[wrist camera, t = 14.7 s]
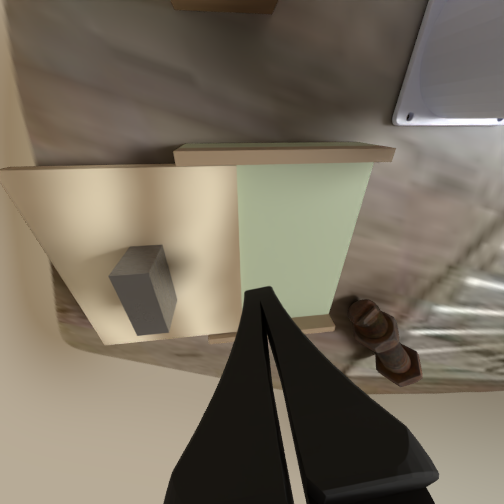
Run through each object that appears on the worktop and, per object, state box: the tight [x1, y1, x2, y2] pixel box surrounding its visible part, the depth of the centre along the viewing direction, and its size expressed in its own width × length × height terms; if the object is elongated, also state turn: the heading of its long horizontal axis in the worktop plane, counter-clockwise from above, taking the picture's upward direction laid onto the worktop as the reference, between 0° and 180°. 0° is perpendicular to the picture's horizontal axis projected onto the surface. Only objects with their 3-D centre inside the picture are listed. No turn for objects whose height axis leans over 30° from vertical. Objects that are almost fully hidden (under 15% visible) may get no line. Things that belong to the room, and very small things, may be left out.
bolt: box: [348, 299, 423, 387], centre depth 26 cm, size 6×5×15 cm
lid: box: [0, 164, 242, 345], centre depth 14 cm, size 12×14×4 cm
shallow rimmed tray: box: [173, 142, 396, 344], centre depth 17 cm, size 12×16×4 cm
